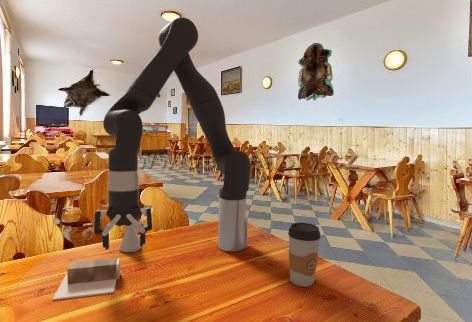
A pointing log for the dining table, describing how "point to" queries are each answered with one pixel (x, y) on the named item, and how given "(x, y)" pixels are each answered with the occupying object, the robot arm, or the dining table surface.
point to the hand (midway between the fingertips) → (124, 247)
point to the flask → (130, 240)
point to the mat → (84, 289)
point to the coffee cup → (303, 253)
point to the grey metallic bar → (93, 270)
